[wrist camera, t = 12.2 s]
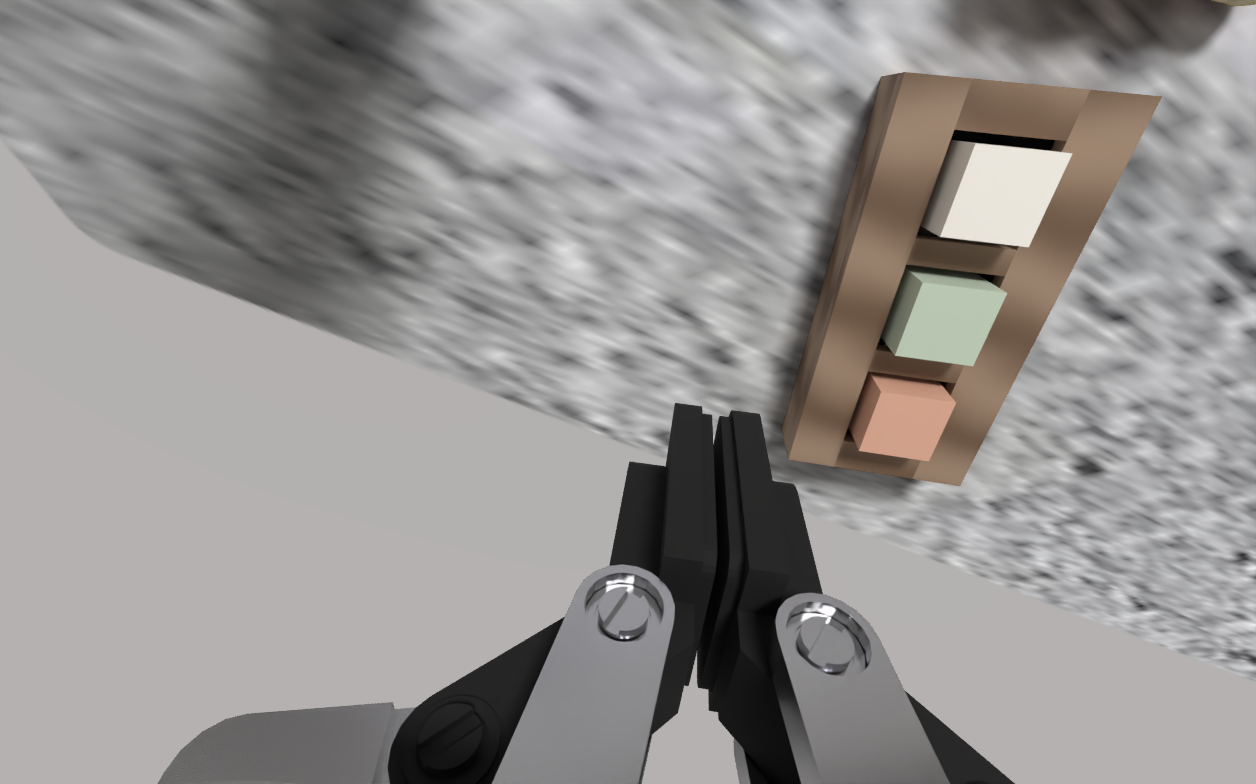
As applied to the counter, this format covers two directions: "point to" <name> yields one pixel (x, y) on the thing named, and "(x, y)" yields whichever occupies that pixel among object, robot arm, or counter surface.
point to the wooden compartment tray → (949, 256)
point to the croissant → (1237, 2)
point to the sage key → (941, 315)
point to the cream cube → (993, 192)
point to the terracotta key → (900, 415)
